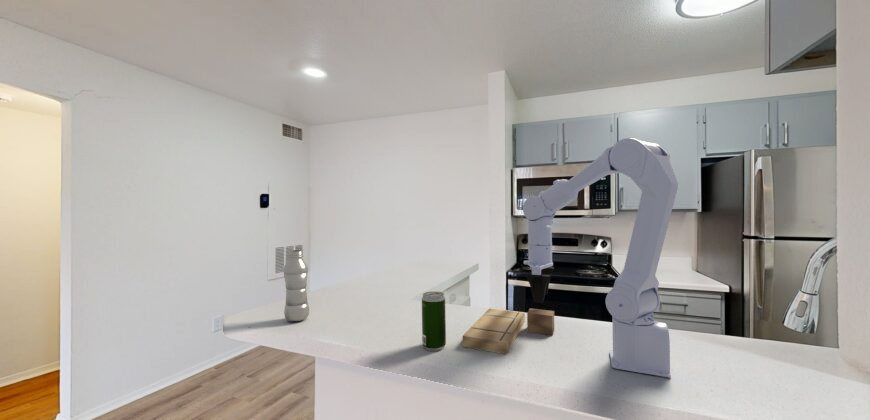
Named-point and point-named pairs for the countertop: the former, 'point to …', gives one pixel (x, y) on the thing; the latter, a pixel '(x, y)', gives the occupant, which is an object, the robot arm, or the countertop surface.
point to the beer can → (433, 321)
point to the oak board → (494, 331)
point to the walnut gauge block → (540, 321)
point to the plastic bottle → (296, 287)
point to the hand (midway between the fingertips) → (540, 298)
